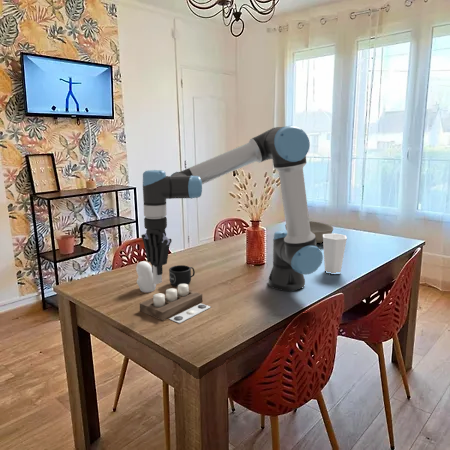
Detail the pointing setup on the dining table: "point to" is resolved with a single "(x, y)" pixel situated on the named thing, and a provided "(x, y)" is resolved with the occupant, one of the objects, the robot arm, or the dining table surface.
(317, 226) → the bowl
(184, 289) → the button right
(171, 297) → the button middle
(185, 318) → the card
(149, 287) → the figurine
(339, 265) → the cup
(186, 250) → the dining table surface
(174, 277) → the mug
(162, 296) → the button left
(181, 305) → the board
